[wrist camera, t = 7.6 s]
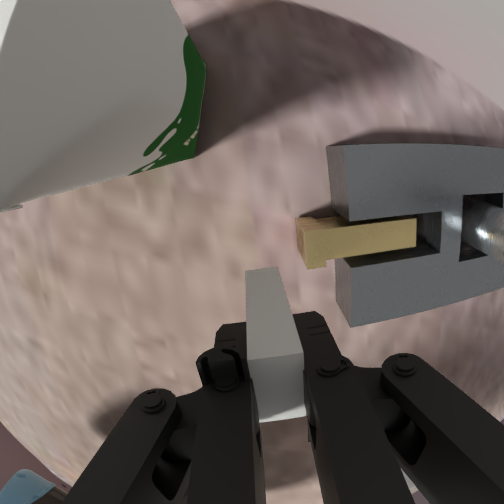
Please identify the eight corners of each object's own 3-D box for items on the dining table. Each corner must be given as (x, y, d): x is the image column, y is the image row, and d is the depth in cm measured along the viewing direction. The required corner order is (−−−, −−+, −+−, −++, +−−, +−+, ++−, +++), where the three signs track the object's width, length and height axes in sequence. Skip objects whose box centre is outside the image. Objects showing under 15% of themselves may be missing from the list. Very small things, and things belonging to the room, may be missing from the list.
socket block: (336, 300, 23) (350, 327, 19) (325, 146, 19) (343, 145, 15) (481, 270, 22) (505, 286, 19) (486, 146, 19) (515, 149, 15)
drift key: (298, 250, 21) (307, 269, 18) (295, 218, 21) (304, 231, 17) (397, 237, 21) (419, 252, 18) (396, 206, 20) (421, 217, 17)
